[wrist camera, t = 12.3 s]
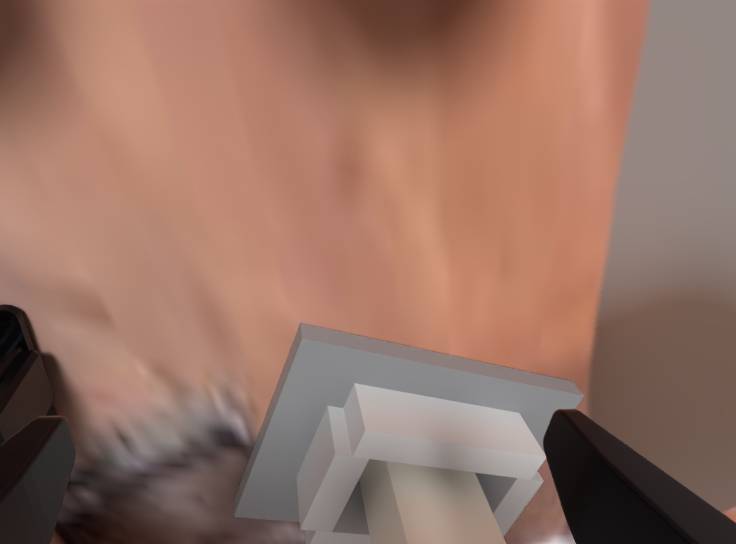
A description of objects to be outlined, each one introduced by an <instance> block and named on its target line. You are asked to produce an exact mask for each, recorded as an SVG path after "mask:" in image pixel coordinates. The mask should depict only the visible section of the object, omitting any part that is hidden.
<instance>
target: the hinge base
mask: <svg viewBox="0 0 736 544" xmlns="http://www.w3.org/2000/svg"><path fill="white" fill-rule="evenodd" d="M583 397H584V395H583V394H582V393H581V392H580V390H579V389H578V388H577V387H576V385H575V384H574V383H573V382H572V381H568V380H563V379H559V378H554V377H550V376H545V375H540V374H536V373H531V372H526V371H522V370H517V369H512V368H508V367H503V366H498V365H494V364H489V363H484V362H480V361H475V360H470V359H466V358H461V357H456V356H452V355H447V354H443V353H438V352H433V351H429V350H424V349H419V348H415V347H410V346H405V345H401V344H396V343H391V342H387V341H382V340H377V339H373V338H368V337H363V336H359V335H354V334H349V333H345V332H340V331H335V330H331V329H326V328H322V327H317V326H312V325H308V324H303V323H300V326H299V329H298V331H297V334H296V337H295V339H294V342H293V345H292V347H291V350H290V352H289V355H288V358H287V360H286V363H285V366H284V368H283V371H282V374H281V376H280V379H279V382H278V384H277V387H276V390H275V392H274V395H273V398H272V400H271V403H270V406H269V408H268V411H267V414H266V416H265V419H264V422H263V424H262V427H261V430H260V432H259V435H258V438H257V440H256V443H255V445H254V448H253V451H252V453H251V456H250V459H249V461H248V464H247V467H246V469H245V472H244V475H243V477H242V480H241V483H240V485H239V488H238V491H237V493H236V496H235V503H234V517H237V518H250V519H262V520H275V521H287V522H300V530H304V535H305V544H371V539H370V534H369V529H368V524H367V519H366V514H365V508H364V503H363V498H362V493H361V488H360V483H359V478H360V476H361V474H362V472H363V470H364V468H365V466H366V464H367V462H368V461H369V459H373V460H381V461H389V462H396V463H404V464H412V465H420V466H427V467H435V468H443V469H451V470H459V471H466V472H474V473H475V475H476V476H477V478H478V480H479V483H480V485H481V487H482V489H483V492H484V494H485V496H486V498H487V501H488V504H489V506H490V508H491V510H492V513H493V515H494V517H495V519H496V522H497V524H498V526H499V528H500V531H501V533H502V535H503V537H504V536H505V534H506V533H507V531H508V530H509V529H510V527H511V526H512V525H513V523H514V522H515V520H516V519H517V518H518V516H519V515H520V513H521V512H522V511H523V509H524V508H525V507H526V505H527V504H528V502H529V501H530V500H531V498H532V497H533V496H534V494H535V493H536V491H537V490H538V489H539V487H540V486H541V484H542V483H543V482H544V481H543V480H542V478H541V476H540V474H539V473H538V471H537V470H538V469H539V467H540V466H541V465H542V463H543V462H544V460H545V459H546V455H545V454H544V449H543V438H544V435H545V432H546V430H547V427H548V425H549V422H550V420H551V418H552V415H553V413H554V412H555V411H556V410H558V409H575V408H576V407H577V405H578V404H579V402H580V401H581V399H582V398H583Z"/></svg>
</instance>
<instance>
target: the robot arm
mask: <svg viewBox="0 0 736 544" xmlns="http://www.w3.org/2000/svg"><path fill="white" fill-rule="evenodd" d="M2 315H5V316H8V317H10V319H11V321H10V320H6V319H4V318H3V317H2ZM54 399H55V396H54V393H53V390H52V387H51V384H50V381H49V379H48V376H47V373H46V370H45V367H44V364H43V361H42V358H41V355H40V354H39V353H38V352H37V351H36V350H35V349H34V346H33V343H32V340H31V338H30V335H29V332H28V329H27V326H26V323H25V320H24V317H23V314H22V313H21V311H20V310H19V309H18V308H16V307H14V306H12V305H0V544H50V542H51V539H52V536H53V532H54V529H55V525H56V522H57V519H58V515H59V512H60V508H61V505H62V502H63V498H64V495H65V491H66V488H67V485H68V481H69V478H70V475H71V471H72V468H73V464H74V460H75V447H74V443H73V439H72V434H71V430H70V426H69V422H68V420H67V418H66V417H64V416H57V413H56V410H55V407H54V404H53V401H54ZM543 449H544V452H545V455H546V459H547V462H548V465H549V468H550V471H551V474H552V477H553V480H554V484H555V487H556V490H557V493H558V496H559V499H560V502H561V506H562V509H563V512H564V515H565V517H566V520H567V523H568V526H569V528H570V531H571V533H572V536H573V538H574V540H575V543H576V544H736V523H735V522H734V521H733V520H731V519H730V518H728V517H727V516H726V515H724V514H723V513H721V512H720V511H719V510H717V509H716V508H714V507H713V506H712V505H710V504H709V503H707V502H706V501H704V500H703V499H702V498H700V497H699V496H698V495H696V494H695V493H693V492H692V491H690V490H689V489H688V488H686V487H685V486H683V485H682V484H681V483H679V482H678V481H677V480H675V479H674V478H672V477H671V476H670V475H668V474H667V473H665V472H664V471H663V470H661V469H660V468H658V467H657V466H656V465H654V464H653V463H651V462H650V461H649V460H647V459H646V458H644V457H643V456H642V455H640V454H639V453H637V452H636V451H634V450H633V449H632V448H630V447H629V446H628V445H626V444H625V443H623V442H622V441H621V440H619V439H618V438H616V437H615V436H614V435H612V434H611V433H609V432H608V431H607V430H605V429H604V428H602V427H601V426H599V425H598V424H597V423H595V422H594V421H593V420H591V419H590V418H588V417H587V416H586V415H584V414H583V413H581V412H580V411H578V410H576V409H558V410H556V411H555V412H554V413H553V415H552V418H551V420H550V422H549V425H548V427H547V430H546V432H545V435H544V438H543Z"/></svg>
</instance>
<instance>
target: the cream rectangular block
mask: <svg viewBox="0 0 736 544" xmlns="http://www.w3.org/2000/svg"><path fill="white" fill-rule="evenodd" d="M359 483H360V488H361V493H362V498H363V503H364V508H365V514H366V519H367V524H368V529H369V534H370V539H371V544H506V542H505V540H504V537H503V535H502V533H501V531H500V528H499V526H498V524H497V522H496V519H495V517H494V515H493V513H492V510H491V508H490V506H489V504H488V501H487V498H486V496H485V494H484V492H483V489H482V487H481V485H480V483H479V480H478V478H477V476H476V475H475V473H474V472H466V471H459V470H451V469H443V468H435V467H427V466H420V465H412V464H404V463H396V462H389V461H381V460H373V459H369V461H368V462H367V464H366V466H365V468H364V470H363V472H362V474H361V476H360V478H359Z"/></svg>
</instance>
